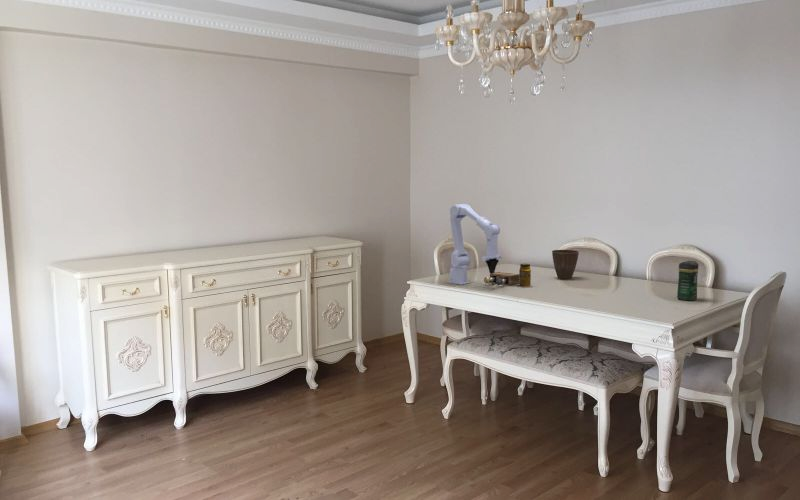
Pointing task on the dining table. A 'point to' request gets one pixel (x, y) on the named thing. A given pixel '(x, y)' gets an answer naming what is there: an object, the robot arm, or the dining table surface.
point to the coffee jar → (687, 280)
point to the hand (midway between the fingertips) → (491, 273)
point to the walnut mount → (512, 278)
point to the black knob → (501, 281)
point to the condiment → (524, 276)
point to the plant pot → (565, 263)
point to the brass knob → (489, 279)
